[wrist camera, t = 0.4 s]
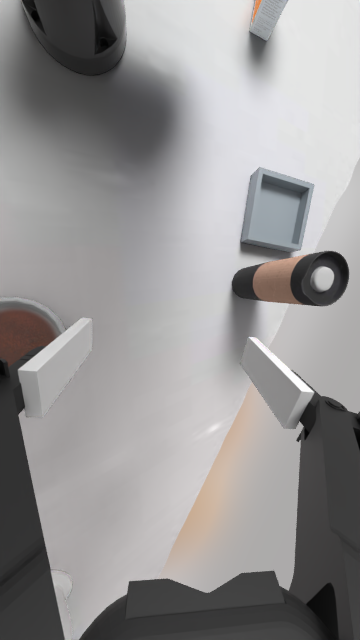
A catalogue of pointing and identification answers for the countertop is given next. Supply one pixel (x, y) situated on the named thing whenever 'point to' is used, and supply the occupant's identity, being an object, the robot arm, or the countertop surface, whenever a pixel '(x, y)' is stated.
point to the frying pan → (25, 327)
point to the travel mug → (295, 280)
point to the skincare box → (266, 17)
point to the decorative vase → (63, 599)
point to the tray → (276, 211)
